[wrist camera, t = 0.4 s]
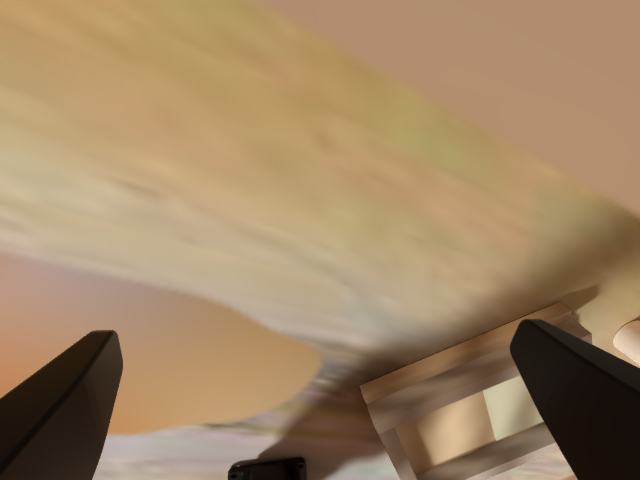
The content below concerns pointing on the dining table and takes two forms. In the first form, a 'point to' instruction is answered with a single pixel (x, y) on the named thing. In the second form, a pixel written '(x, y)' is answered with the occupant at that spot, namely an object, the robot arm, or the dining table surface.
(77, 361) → the robot arm
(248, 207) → the dining table surface
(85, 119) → the dining table surface
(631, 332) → the beige tall round piece
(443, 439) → the rail board
